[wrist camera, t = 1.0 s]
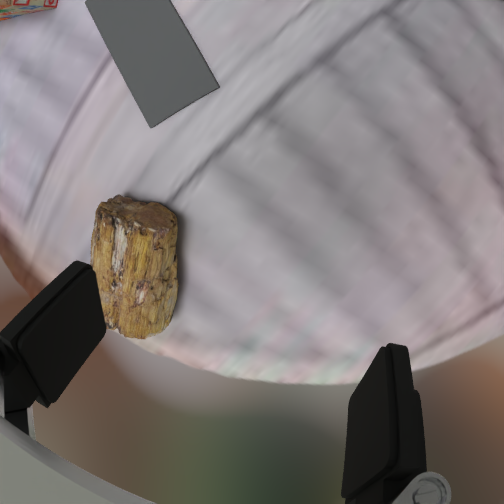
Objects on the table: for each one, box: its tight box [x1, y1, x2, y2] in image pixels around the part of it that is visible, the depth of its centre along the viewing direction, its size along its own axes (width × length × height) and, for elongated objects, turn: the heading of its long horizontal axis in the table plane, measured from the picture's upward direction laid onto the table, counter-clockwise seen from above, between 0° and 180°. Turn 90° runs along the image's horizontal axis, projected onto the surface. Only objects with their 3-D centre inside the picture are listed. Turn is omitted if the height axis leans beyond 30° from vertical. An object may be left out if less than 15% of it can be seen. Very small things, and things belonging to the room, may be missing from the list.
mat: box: [85, 0, 220, 128], centre depth 31 cm, size 10×22×1 cm, turn 27°
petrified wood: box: [90, 195, 179, 339], centre depth 43 cm, size 19×13×10 cm
